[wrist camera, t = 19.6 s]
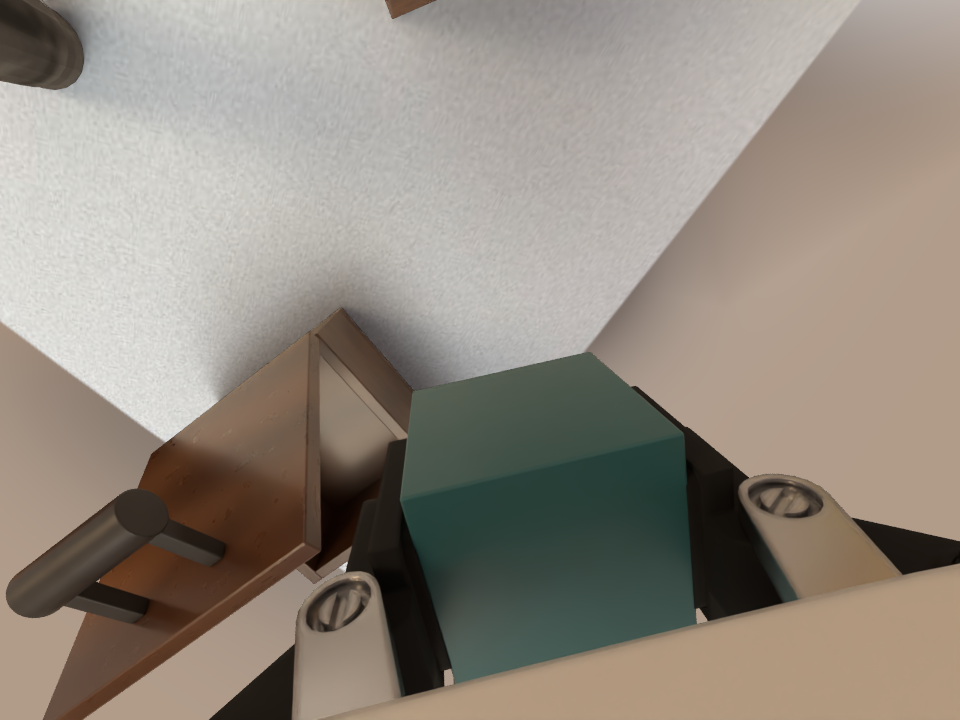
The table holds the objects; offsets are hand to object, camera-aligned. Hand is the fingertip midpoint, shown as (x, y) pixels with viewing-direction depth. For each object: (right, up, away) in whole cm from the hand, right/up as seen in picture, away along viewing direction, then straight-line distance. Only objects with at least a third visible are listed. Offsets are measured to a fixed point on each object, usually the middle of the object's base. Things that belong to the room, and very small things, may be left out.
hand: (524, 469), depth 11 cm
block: (0, 0, +1) cm, 1 cm away
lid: (-14, -4, +11) cm, 18 cm away
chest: (-13, -2, +26) cm, 29 cm away
